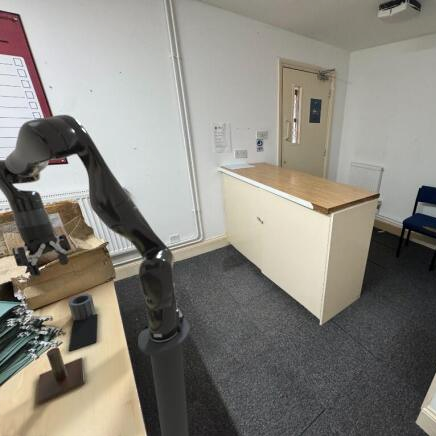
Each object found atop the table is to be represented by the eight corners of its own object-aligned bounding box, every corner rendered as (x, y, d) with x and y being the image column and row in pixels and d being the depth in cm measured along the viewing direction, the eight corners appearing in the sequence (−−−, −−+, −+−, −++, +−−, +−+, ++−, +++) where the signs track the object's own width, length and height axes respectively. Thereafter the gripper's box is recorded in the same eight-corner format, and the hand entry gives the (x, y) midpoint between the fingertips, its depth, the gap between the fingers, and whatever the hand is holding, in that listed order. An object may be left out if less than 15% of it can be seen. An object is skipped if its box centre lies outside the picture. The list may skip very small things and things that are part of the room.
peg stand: (82, 359, 72) (74, 332, 68) (84, 383, 66) (76, 354, 62) (40, 377, 66) (29, 348, 62) (38, 404, 60) (26, 374, 56)
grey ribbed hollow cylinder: (94, 306, 92) (91, 291, 90) (96, 316, 88) (92, 301, 86) (72, 313, 88) (68, 298, 86) (73, 323, 84) (68, 308, 81)
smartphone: (68, 351, 74) (73, 320, 85) (68, 353, 74) (73, 322, 85) (96, 341, 78) (97, 313, 89) (96, 343, 78) (97, 314, 89)
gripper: (17, 228, 68) (37, 279, 71) (67, 217, 81) (81, 260, 85) (-5, 231, 68) (16, 280, 72) (48, 219, 82) (63, 261, 86)
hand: (51, 269), depth 79 cm, fingers open, 8 cm apart
